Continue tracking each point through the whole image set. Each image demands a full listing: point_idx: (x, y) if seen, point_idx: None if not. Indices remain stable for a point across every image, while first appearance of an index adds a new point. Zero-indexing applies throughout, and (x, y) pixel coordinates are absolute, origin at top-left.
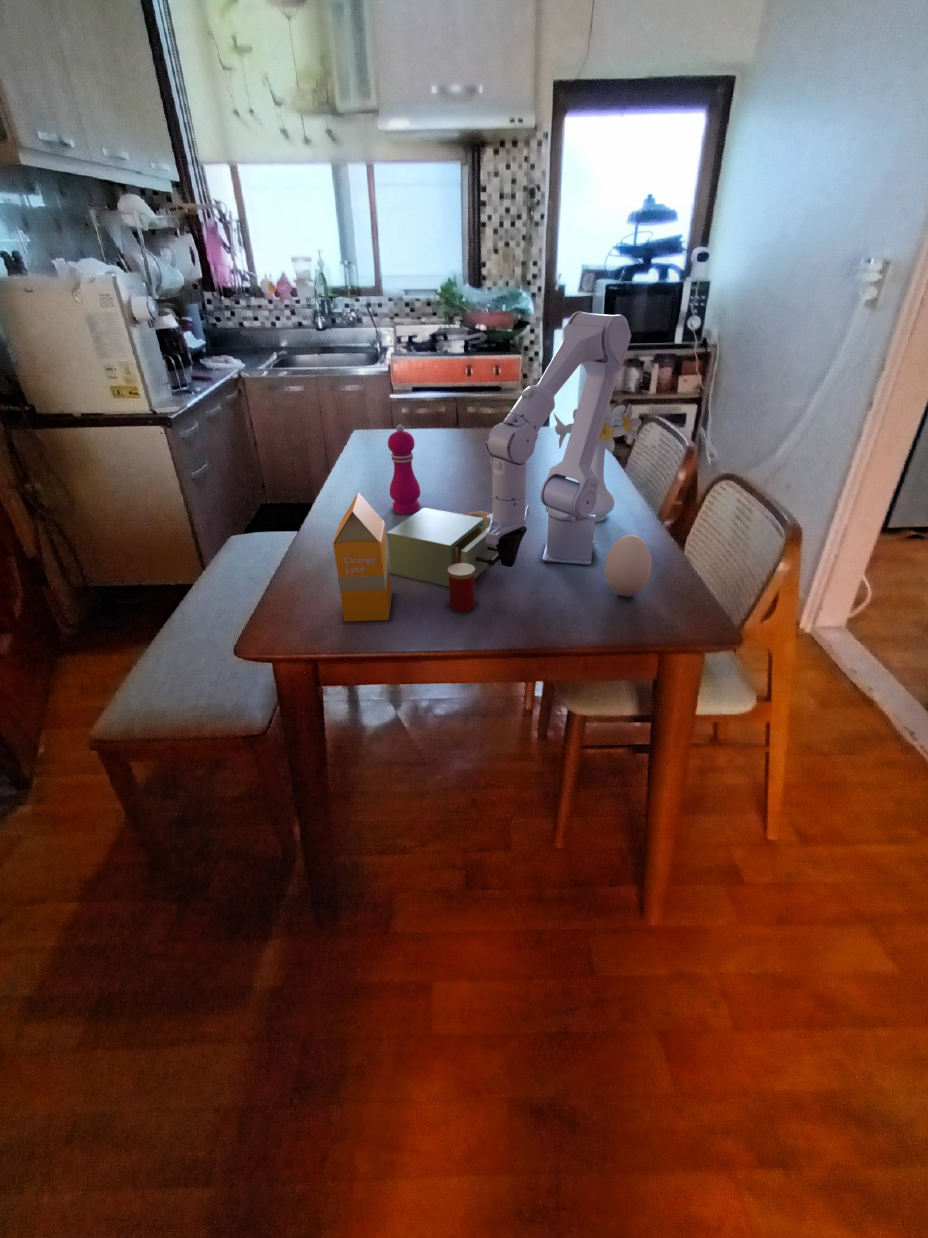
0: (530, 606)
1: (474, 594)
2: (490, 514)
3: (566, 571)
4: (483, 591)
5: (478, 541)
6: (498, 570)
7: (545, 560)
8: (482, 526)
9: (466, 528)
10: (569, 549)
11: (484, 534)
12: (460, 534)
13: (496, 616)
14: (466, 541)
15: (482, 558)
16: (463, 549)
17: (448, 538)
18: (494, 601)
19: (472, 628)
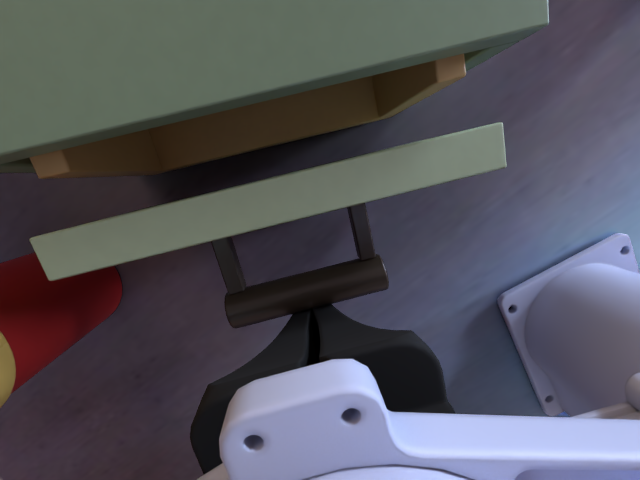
0: None
1: (83, 336)
2: (332, 410)
3: (475, 383)
4: (201, 276)
5: (229, 235)
6: None
7: (500, 307)
8: (463, 73)
9: (283, 41)
10: (570, 391)
11: (347, 190)
12: (151, 85)
13: (117, 400)
14: None
15: (224, 264)
16: (56, 240)
17: (2, 51)
18: (178, 343)
19: (10, 395)
